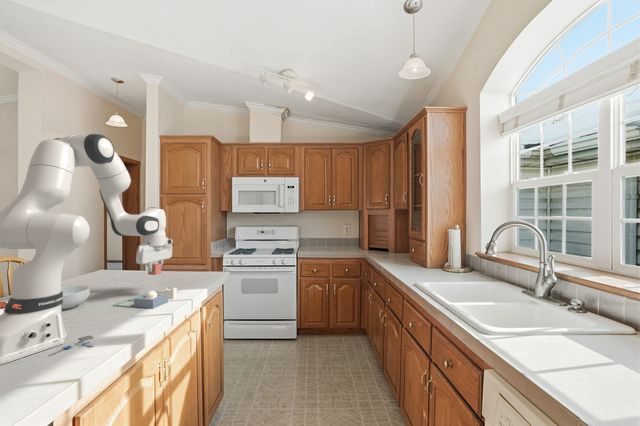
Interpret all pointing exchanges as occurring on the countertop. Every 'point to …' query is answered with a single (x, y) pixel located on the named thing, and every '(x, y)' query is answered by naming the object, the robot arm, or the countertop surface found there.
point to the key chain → (78, 343)
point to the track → (133, 300)
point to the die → (171, 292)
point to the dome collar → (150, 301)
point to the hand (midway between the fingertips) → (154, 270)
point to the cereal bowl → (74, 296)
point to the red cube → (155, 269)
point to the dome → (151, 294)
